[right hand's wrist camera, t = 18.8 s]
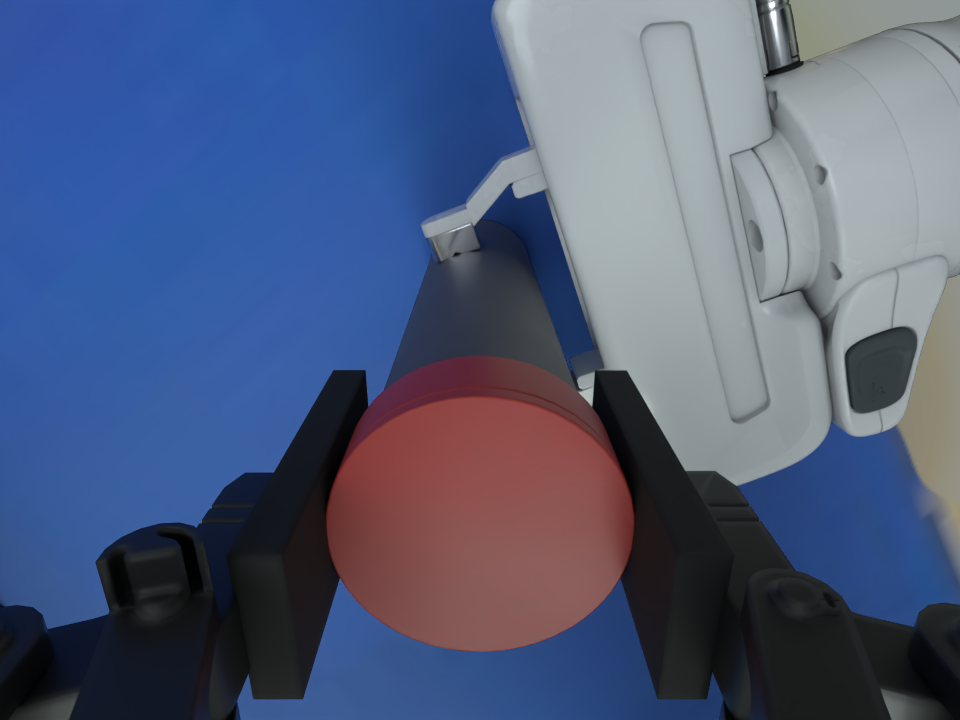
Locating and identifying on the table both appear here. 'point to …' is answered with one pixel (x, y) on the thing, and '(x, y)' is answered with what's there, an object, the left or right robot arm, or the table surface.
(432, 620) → the lid
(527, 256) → the dark grey cylinder
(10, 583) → the table surface
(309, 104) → the table surface
